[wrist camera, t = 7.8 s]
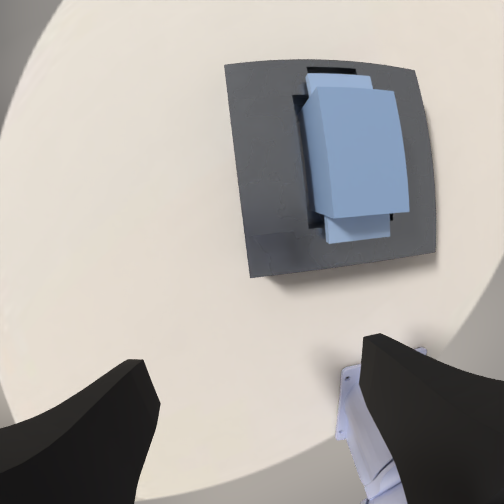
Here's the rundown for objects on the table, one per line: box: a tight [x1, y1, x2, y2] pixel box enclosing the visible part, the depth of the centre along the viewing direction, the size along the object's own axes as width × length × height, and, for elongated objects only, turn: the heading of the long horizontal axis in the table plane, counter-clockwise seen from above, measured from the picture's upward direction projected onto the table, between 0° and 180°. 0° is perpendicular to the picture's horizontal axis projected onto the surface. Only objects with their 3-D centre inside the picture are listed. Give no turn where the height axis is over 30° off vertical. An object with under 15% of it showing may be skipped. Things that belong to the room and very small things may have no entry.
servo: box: [298, 73, 409, 244], centre depth 13 cm, size 9×4×5 cm, turn 7°
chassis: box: [224, 59, 436, 278], centre depth 15 cm, size 12×12×2 cm
